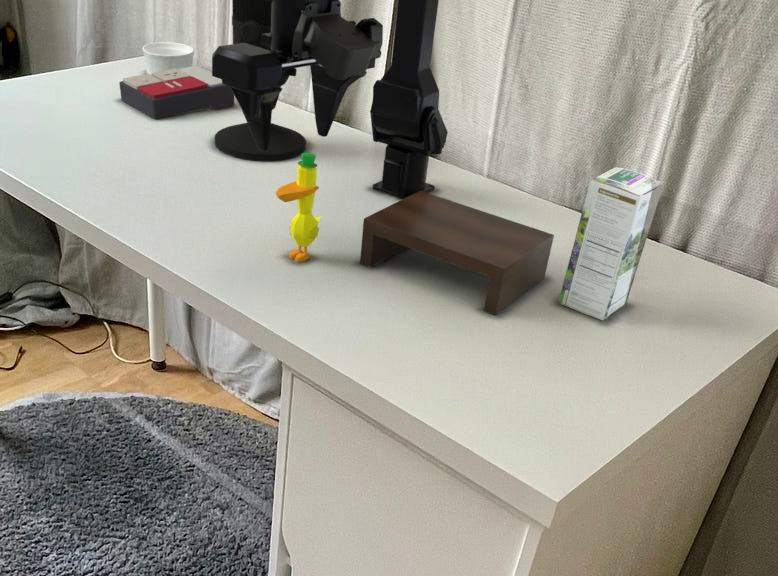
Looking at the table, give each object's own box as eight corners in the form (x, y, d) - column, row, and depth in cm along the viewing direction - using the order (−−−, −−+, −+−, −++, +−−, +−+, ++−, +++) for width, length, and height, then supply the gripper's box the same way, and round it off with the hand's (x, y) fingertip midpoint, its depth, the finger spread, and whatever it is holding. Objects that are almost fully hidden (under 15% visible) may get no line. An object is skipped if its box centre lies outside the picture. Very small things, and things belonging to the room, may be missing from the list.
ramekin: (204, 77, 158) (203, 51, 156) (160, 83, 153) (158, 57, 151) (177, 65, 163) (176, 39, 161) (134, 70, 159) (132, 44, 156)
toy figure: (286, 271, 100) (289, 166, 93) (265, 260, 102) (267, 156, 95) (329, 256, 104) (335, 154, 97) (309, 245, 106) (313, 144, 99)
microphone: (289, 167, 126) (295, -30, 111) (200, 151, 129) (194, -44, 113) (317, 138, 137) (326, -45, 122) (234, 124, 139) (233, -57, 124)
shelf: (415, 232, 111) (420, 190, 108) (544, 279, 104) (554, 234, 100) (359, 263, 103) (363, 218, 100) (495, 315, 96) (504, 268, 92)
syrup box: (581, 287, 103) (613, 163, 94) (628, 306, 100) (665, 179, 91) (557, 304, 99) (588, 176, 90) (605, 323, 96) (641, 193, 87)
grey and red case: (117, 76, 142) (197, 61, 150) (120, 104, 145) (199, 87, 153) (152, 95, 136) (234, 78, 144) (155, 123, 139) (235, 105, 146)
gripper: (294, 3, 76) (286, 182, 86) (425, -10, 88) (405, 148, 98) (207, -20, 82) (208, 150, 91) (341, -29, 94) (330, 122, 103)
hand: (293, 142), depth 95 cm, fingers open, 9 cm apart
